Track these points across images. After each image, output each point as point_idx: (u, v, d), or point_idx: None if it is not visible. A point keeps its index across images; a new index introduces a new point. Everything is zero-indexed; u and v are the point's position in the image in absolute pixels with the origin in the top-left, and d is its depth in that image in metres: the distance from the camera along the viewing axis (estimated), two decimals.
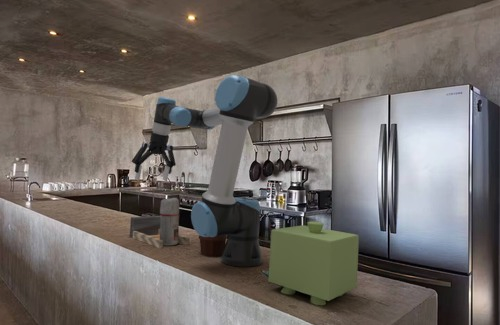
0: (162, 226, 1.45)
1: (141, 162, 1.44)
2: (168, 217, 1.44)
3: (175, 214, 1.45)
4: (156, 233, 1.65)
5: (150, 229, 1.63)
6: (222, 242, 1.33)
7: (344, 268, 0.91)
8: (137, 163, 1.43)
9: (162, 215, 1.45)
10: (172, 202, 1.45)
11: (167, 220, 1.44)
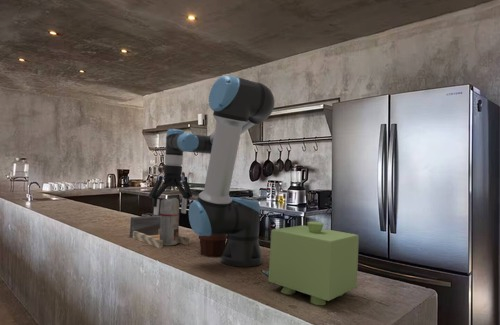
0: (162, 226, 1.45)
1: (158, 195, 1.43)
2: (168, 217, 1.44)
3: (175, 214, 1.45)
4: (156, 233, 1.65)
5: (150, 229, 1.63)
6: (222, 242, 1.33)
7: (344, 268, 0.91)
8: (154, 197, 1.42)
9: (162, 215, 1.45)
10: (172, 202, 1.45)
11: (167, 220, 1.44)
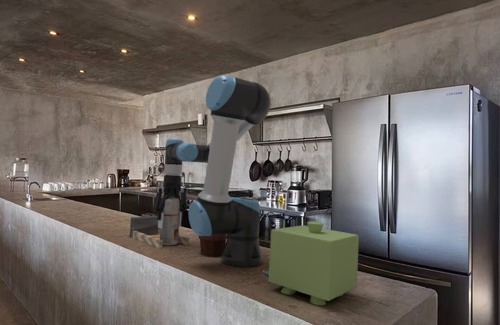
0: None
1: (162, 208, 1.44)
2: (168, 216, 1.44)
3: (175, 214, 1.45)
4: (156, 233, 1.65)
5: (150, 229, 1.63)
6: (222, 242, 1.33)
7: (344, 268, 0.91)
8: (158, 211, 1.43)
9: None
10: (172, 201, 1.45)
11: (167, 219, 1.44)
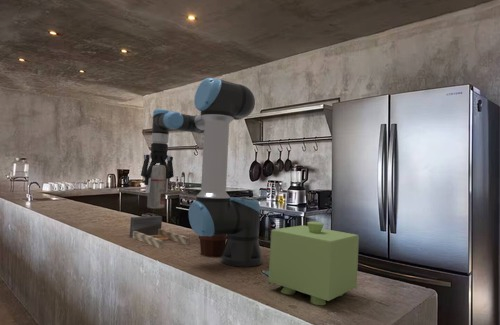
0: None
1: (149, 174, 1.54)
2: (155, 181, 1.54)
3: (161, 179, 1.55)
4: (156, 233, 1.65)
5: (150, 229, 1.63)
6: (222, 242, 1.33)
7: (344, 268, 0.91)
8: (146, 176, 1.53)
9: None
10: (159, 167, 1.54)
11: (154, 184, 1.54)
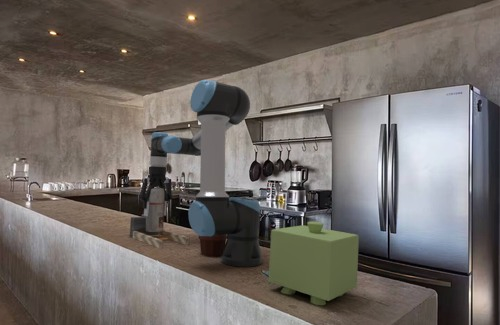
0: (148, 214, 1.54)
1: (147, 197, 1.53)
2: (153, 205, 1.54)
3: (160, 203, 1.55)
4: (156, 233, 1.65)
5: None
6: (222, 242, 1.33)
7: (344, 268, 0.91)
8: (144, 200, 1.53)
9: None
10: (157, 191, 1.54)
11: (153, 208, 1.54)
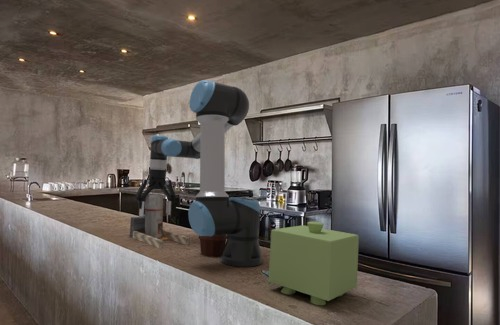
0: (147, 220, 1.54)
1: (143, 198, 1.52)
2: (152, 211, 1.53)
3: (158, 209, 1.54)
4: None
5: None
6: (222, 242, 1.33)
7: (344, 268, 0.91)
8: (139, 199, 1.51)
9: (147, 210, 1.54)
10: (156, 197, 1.54)
11: (151, 214, 1.53)
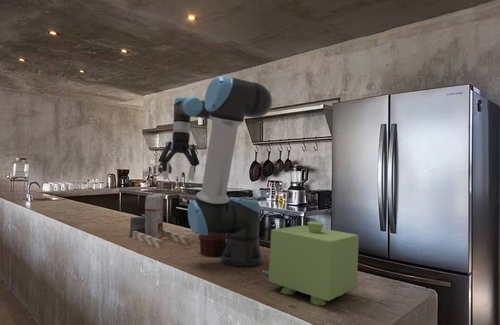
0: (147, 220, 1.54)
1: (168, 160, 1.47)
2: (152, 211, 1.53)
3: (158, 209, 1.54)
4: None
5: None
6: (222, 242, 1.33)
7: (344, 268, 0.91)
8: (164, 161, 1.47)
9: (147, 210, 1.54)
10: (156, 197, 1.54)
11: (151, 214, 1.53)
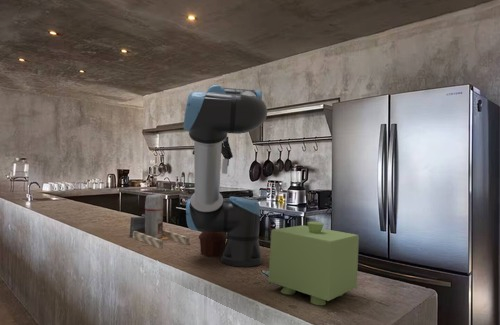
0: (147, 220, 1.54)
1: None
2: (152, 211, 1.53)
3: (158, 209, 1.54)
4: None
5: None
6: (222, 242, 1.33)
7: (344, 268, 0.91)
8: None
9: (147, 210, 1.54)
10: (156, 197, 1.54)
11: (151, 214, 1.53)
